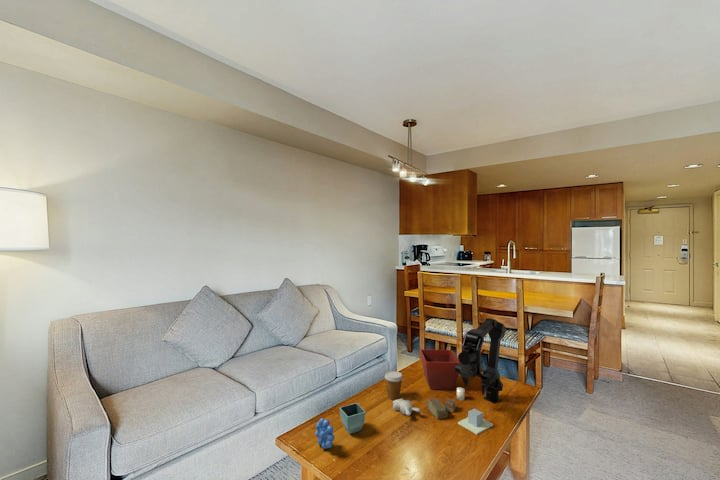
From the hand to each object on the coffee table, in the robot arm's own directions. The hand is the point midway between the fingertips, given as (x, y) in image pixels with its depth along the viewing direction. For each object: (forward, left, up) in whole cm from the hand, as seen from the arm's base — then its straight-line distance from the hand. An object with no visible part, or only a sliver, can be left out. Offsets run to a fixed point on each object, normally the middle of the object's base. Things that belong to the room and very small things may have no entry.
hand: (474, 390), depth 155 cm
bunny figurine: (+26, -20, -11) cm, 35 cm away
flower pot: (+55, -22, -11) cm, 61 cm away
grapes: (+70, -18, -11) cm, 73 cm away
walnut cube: (+6, -9, -11) cm, 16 cm away
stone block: (+14, -11, -11) cm, 21 cm away
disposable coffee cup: (+21, -34, -11) cm, 42 cm away
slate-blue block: (+7, +6, -10) cm, 14 cm away
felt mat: (+7, +6, -11) cm, 14 cm away
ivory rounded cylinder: (-7, -13, -11) cm, 19 cm away
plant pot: (-10, -30, -11) cm, 34 cm away
